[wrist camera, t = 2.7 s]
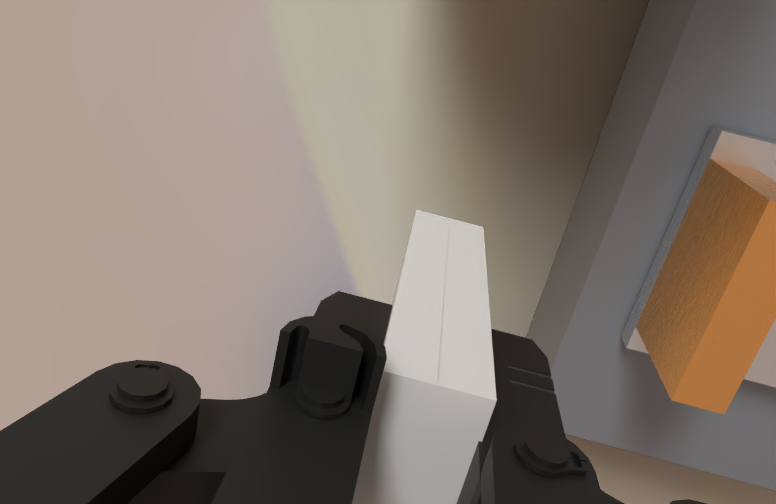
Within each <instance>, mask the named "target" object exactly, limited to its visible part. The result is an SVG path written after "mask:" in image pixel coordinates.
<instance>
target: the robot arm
mask: <svg viewBox="0 0 776 504" xmlns="http://www.w3.org/2000/svg"><path fill="white" fill-rule="evenodd" d="M554 391H555V389H554V384H553V380H552V379H551V371H550V367H549V362H548V358H547V357H546V355H545V354H544V353H543V352H542V351H541V349H540V348H539V347H538V346H537V345H536V343H535V342H534V341H533V340H532V339H528V338H524V337H520V336H516V335H513V334H509V333H505V332H501V331H497V330H493V329H491V321H490V307H489V294H488V281H487V268H486V255H485V242H484V229H483V227H482V226H478V225H474V224H470V223H466V222H462V221H458V220H454V219H451V218H447V217H443V216H439V215H435V214H431V213H427V212H424V211H420V210H416V213H415V217H414V220H413V224H412V228H411V232H410V236H409V239H408V243H407V247H406V251H405V255H404V258H403V262H402V266H401V270H400V274H399V277H398V281H397V285H396V289H395V293H394V296H393V300H392V304H391V305H390V304H386V303H382V302H378V301H374V300H370V299H367V298H363V297H359V296H355V295H351V294H347V293H344V292H340V291H338V292H336V293H335V294H333V295H331V296H329V297H327V298H325V299H324V300H322V301H321V303H320V304H319V306H318V309H317V311H316V313H315V315H314V316H310V317H303V318H300V319H296V320H293V321H290V322H289V323H288V324H287V325H286V326H285V327H284V328H282V329H281V330H280V336H279V341H278V346H277V351H276V356H275V362H274V367H273V372H272V377H271V383H270V387H269V389H268V391H267V393H265V394H262V395H260V396H257V397H252V398H247V399H242V400H241V399H240V400H215V399H200V397H201V396H200V395H201V389H200V387H199V385H198V384H197V382H196V381H195V379H194V378H193V376H191V375H190V374H188V373H186V372H185V371H183V370H182V369H180V368H178V367H176V366H172V365H169V364H166V363H162V362H158V361H142V360H135V361H129V362H123V363H117V364H113V365H111V366H108V367H106V368H104V369H101V370H99V371H96V372H95V373H93V374H92V375H90V376H88V377H87V378H85V379H83V380H82V381H80V382H79V383H77V384H75V385H74V386H72V387H70V388H69V389H67V390H66V391H64V392H62V393H61V394H59V395H58V396H56V397H54V398H53V399H51V400H49V401H48V402H46V403H45V404H43V405H42V406H40V407H38V408H37V409H35V410H33V411H32V412H30V413H28V414H27V415H25V416H24V417H22V418H20V419H19V420H17V421H16V422H14V423H13V424H11V425H9V426H7V427H6V428H4V429H3V430H1V431H0V504H624V503H622V502H620V501H618V500H617V499H615V498H613V497H611V496H610V495H608V494H606V493H605V492H603V491H602V490H601V489H600V487H599V483H598V480H597V476H596V472H595V470H594V468H593V466H592V464H591V463H590V461H589V459H588V457H587V456H586V455H585V454H584V453H583V452H582V451H581V450H580V449H579V448H578V447H577V446H576V445H575V444H574V443H572V442H570V441H569V440H567V439H566V437H565V433H564V428H563V424H562V419H561V415H560V411H559V406H558V402H557V398H556V394H554ZM670 504H706V503H702V502H698V501H693V500H689V499H688V500H677V501H672V502H671V503H670Z"/></svg>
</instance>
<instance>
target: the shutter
mask: <svg viewBox="0 0 776 504" xmlns="http://www.w3.org/2000/svg"><path fill="white" fill-rule="evenodd" d="M621 337H622V339H623V341H624V344H625V346H626V348H628V349H632V350H636V351H640V352H644V353H647V354H649V355H650V357H651V359H652V362H653V364H654V366H655V368H656V370H657V372H658V374H659V376H660V378H661V380H662V382H663V384H664V386H665V388H666V390H667V393H668V395H669V397H670V399H671V400H672V401H675V402H679V403H683V404H687V405H690V406H694V407H698V408H702V409H705V410H709V411H713V412H717V413H720V414H725V412H726V411H727V409H728V407H729V405H730V403H731V401H732V399H733V397H734V396H735V394H736V392H737V390H738V388H739V386H740V384H741V383H742V381H743V379H746V380H749V381H753V382H757V383H761V384H764V385H768V386H772V387H776V141H772V140H768V139H764V138H760V137H756V136H753V135H749V134H745V133H741V132H737V131H733V130H729V129H725V128H721V127H717V126H713V125H712V127H711V129H710V131H709V134H708V136H707V138H706V141H705V143H704V145H703V148H702V150H701V152H700V155H699V157H698V159H697V161H696V164H695V166H694V168H693V171H692V173H691V175H690V178H689V180H688V182H687V185H686V187H685V189H684V192H683V194H682V196H681V198H680V201H679V203H678V205H677V208H676V210H675V212H674V215H673V217H672V219H671V222H670V224H669V226H668V229H667V231H666V233H665V235H664V238H663V240H662V242H661V245H660V247H659V249H658V252H657V254H656V256H655V259H654V261H653V263H652V266H651V268H650V270H649V272H648V275H647V277H646V279H645V282H644V284H643V286H642V289H641V291H640V293H639V296H638V298H637V300H636V302H635V305H634V307H633V309H632V312H631V314H630V316H629V319H628V321H627V323H626V326H625V328H624V330H623V333H622V335H621Z"/></svg>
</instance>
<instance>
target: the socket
mask: <svg viewBox="0 0 776 504" xmlns="http://www.w3.org/2000/svg"><path fill="white" fill-rule="evenodd" d="M712 125H713V126H717V127H721V128H725V129H729V130H733V131H737V132H741V133H745V134H749V135H753V136H756V137H760V138H764V139H768V140H772V141H776V0H649V3H648V6H647V9H646V11H645V14H644V17H643V20H642V22H641V25H640V28H639V30H638V33H637V36H636V39H635V41H634V44H633V47H632V50H631V52H630V55H629V58H628V61H627V63H626V66H625V69H624V71H623V74H622V77H621V80H620V82H619V85H618V88H617V91H616V93H615V96H614V99H613V102H612V104H611V107H610V110H609V113H608V115H607V118H606V121H605V123H604V126H603V129H602V132H601V134H600V137H599V140H598V143H597V145H596V148H595V151H594V154H593V156H592V159H591V162H590V164H589V167H588V170H587V173H586V175H585V178H584V181H583V184H582V186H581V189H580V192H579V195H578V197H577V200H576V203H575V205H574V208H573V211H572V214H571V216H570V219H569V222H568V225H567V227H566V230H565V233H564V236H563V238H562V241H561V244H560V247H559V249H558V252H557V255H556V257H555V260H554V263H553V266H552V268H551V271H550V274H549V277H548V279H547V282H546V285H545V288H544V290H543V293H542V296H541V298H540V301H539V304H538V307H537V309H536V312H535V315H534V318H533V320H532V323H531V326H530V329H529V331H528V334H527V337H526V338H528V339H532V340H533V341H534V342H535V343H536V345H537V346H538V347H539V348H540V349H541V351H542V352H543V353H544V354H545V355H546V357H547V358H548V362H549V367H550V371H551V379H552V380H553V384H554V389H555V391H554V394H556V398H557V402H558V406H559V411H560V415H561V419H562V424H563V428H564V433H565V434H567V435H571V436H575V437H578V438H582V439H586V440H590V441H593V442H597V443H601V444H604V445H608V446H612V447H616V448H619V449H623V450H627V451H631V452H634V453H638V454H642V455H645V456H649V457H653V458H657V459H660V460H664V461H668V462H671V463H675V464H679V465H683V466H686V467H690V468H694V469H698V470H701V471H705V472H709V473H712V474H716V475H720V476H724V477H727V478H731V479H735V480H738V481H742V482H746V483H750V484H753V485H757V486H761V487H765V488H768V489H772V490H776V387H772V386H768V385H764V384H761V383H757V382H753V381H749V380H746V379H743V381H742V383H741V384H740V386H739V388H738V390H737V392H736V394H735V396H734V397H733V399H732V401H731V403H730V405H729V407H728V409H727V411H726V412H725V414H720V413H717V412H713V411H709V410H705V409H702V408H698V407H694V406H690V405H687V404H683V403H679V402H675V401H672V400H671V399H670V397H669V395H668V393H667V390H666V388H665V386H664V384H663V382H662V380H661V378H660V376H659V374H658V372H657V370H656V368H655V366H654V364H653V362H652V359H651V357H650V355H649V354H647V353H644V352H640V351H636V350H632V349H628V348H626V346H625V344H624V341H623V339H622V337H621V335H622V333H623V330H624V328H625V326H626V323H627V321H628V319H629V316H630V314H631V312H632V309H633V307H634V305H635V302H636V300H637V298H638V296H639V293H640V291H641V289H642V286H643V284H644V282H645V279H646V277H647V275H648V272H649V270H650V268H651V266H652V263H653V261H654V259H655V256H656V254H657V252H658V249H659V247H660V245H661V242H662V240H663V238H664V235H665V233H666V231H667V229H668V226H669V224H670V222H671V219H672V217H673V215H674V212H675V210H676V208H677V205H678V203H679V201H680V198H681V196H682V194H683V192H684V189H685V187H686V185H687V182H688V180H689V178H690V175H691V173H692V171H693V168H694V166H695V164H696V161H697V159H698V157H699V155H700V152H701V150H702V148H703V145H704V143H705V141H706V138H707V136H708V134H709V131H710V129H711V127H712Z"/></svg>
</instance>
